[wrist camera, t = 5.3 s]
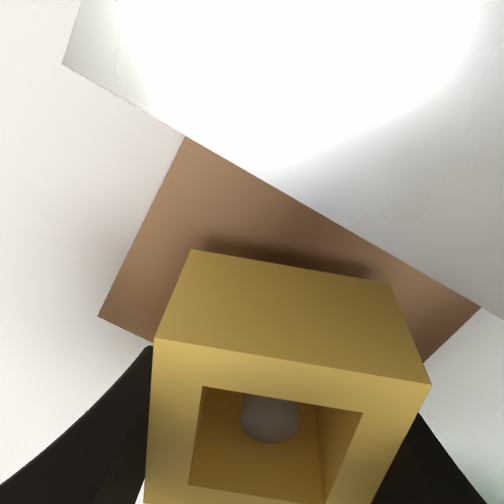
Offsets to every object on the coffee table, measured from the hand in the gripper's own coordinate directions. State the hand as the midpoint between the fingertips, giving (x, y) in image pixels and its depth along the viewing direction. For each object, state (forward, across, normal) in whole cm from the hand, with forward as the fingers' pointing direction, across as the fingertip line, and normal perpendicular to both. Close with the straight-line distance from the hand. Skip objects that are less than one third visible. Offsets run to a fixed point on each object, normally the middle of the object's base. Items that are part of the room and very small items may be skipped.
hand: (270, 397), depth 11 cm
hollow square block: (+2, 0, 0) cm, 2 cm away
